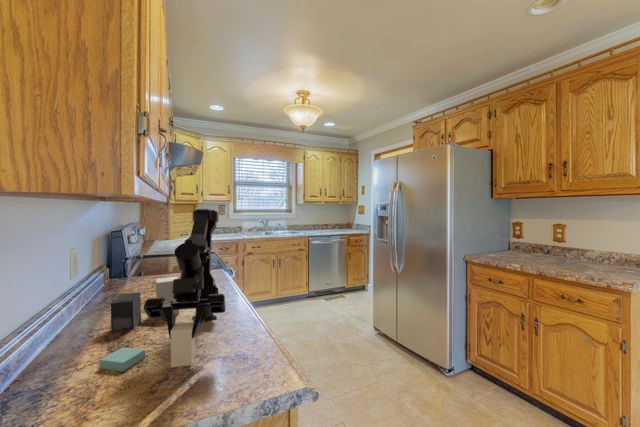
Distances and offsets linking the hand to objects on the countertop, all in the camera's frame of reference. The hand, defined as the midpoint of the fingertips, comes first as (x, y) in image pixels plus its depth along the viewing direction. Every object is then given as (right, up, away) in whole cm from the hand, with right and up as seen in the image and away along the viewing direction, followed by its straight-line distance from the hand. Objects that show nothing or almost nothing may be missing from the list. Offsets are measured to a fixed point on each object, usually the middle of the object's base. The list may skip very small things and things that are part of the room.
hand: (181, 338), depth 71 cm
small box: (-30, -8, +25) cm, 39 cm away
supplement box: (-24, -7, +40) cm, 47 cm away
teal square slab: (-15, -6, +1) cm, 16 cm away
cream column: (0, -8, +1) cm, 8 cm away
